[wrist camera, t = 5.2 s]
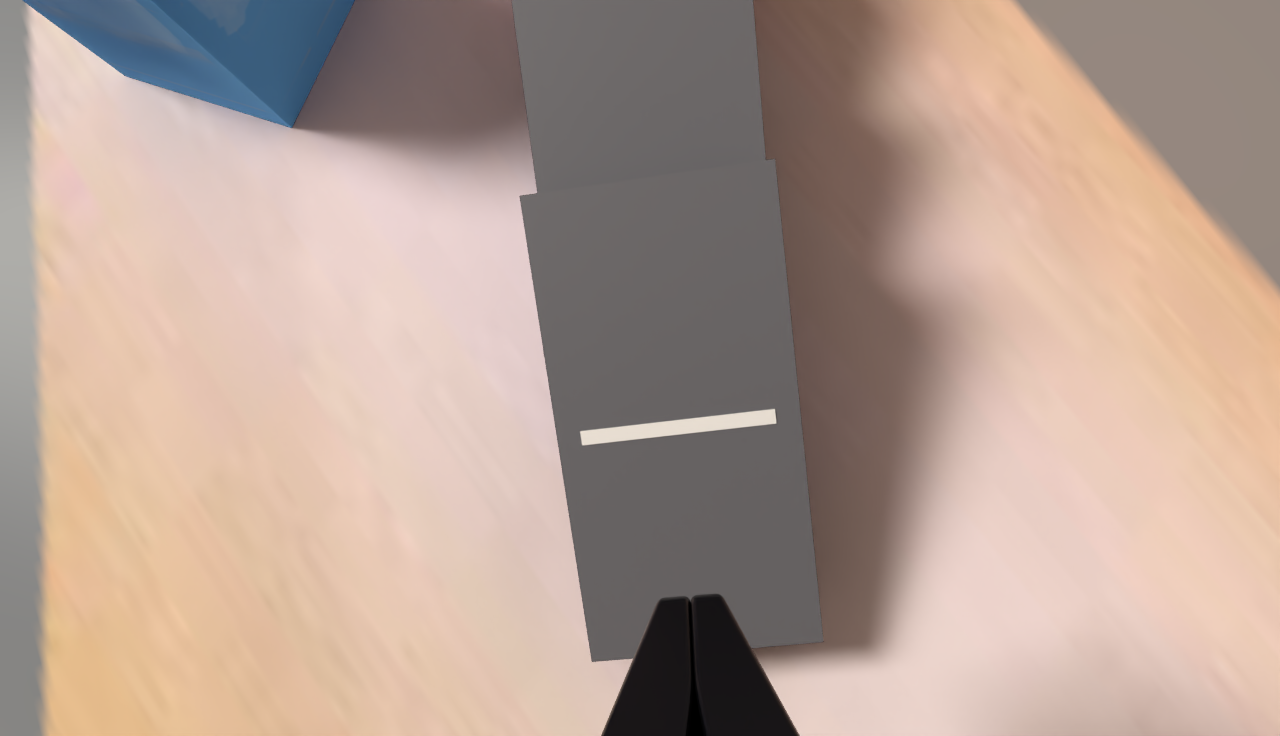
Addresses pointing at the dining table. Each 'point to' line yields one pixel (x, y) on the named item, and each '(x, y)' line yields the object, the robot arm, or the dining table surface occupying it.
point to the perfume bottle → (211, 46)
